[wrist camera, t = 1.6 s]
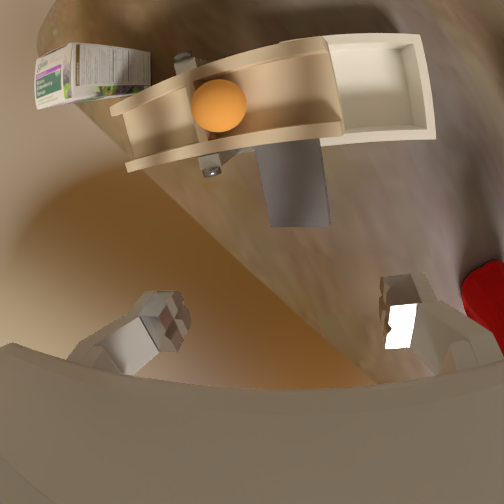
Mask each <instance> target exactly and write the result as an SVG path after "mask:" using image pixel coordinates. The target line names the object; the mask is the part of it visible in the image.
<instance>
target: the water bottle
mask: <svg viewBox="0 0 504 504" xmlns="http://www.w3.org/2000/svg"><path fill="white" fill-rule="evenodd" d="M461 295H462V300H463V305H464V309H465V312H466V314H467V316H468V317H469V318H470V319H472V320H473V321H475V322H477V323H478V324H480V325H481V326H483V327H484V328H486V329H487V330H489V331H490V332H492V333H493V335H494V337H495V339H496V341H497V343H498V346H499V348H500V350H501V352H502V354H503V357H504V263H503V262H501V261H498V260H494V261H490V262H487V263H486V264H485V265H484V266H483V267H481V268H479V269H476V270H474V271H473V272H472V273H470V274H469V275H468V276H467V277H466V279H465V281H464V282H463V284H462V291H461Z"/></svg>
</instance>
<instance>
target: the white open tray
mask: <svg viewBox="0 0 504 504" xmlns="http://www.w3.org/2000/svg"><path fill="white" fill-rule="evenodd" d="M322 37H323V38H324V39H325V40H326V41H327V42H328V46H329V50H330V55H331V59H332V63H333V68H334V72H335V77H336V82H337V87H338V92H339V97H340V102H341V108H342V114H343V120H344V126H345V133H344V134H343V136H339V137H326V138H319V139H320V145H321V146H329V145H339V144H349V143H361V142H375V141H392V140H419V139H436V129H435V118H434V109H433V101H432V94H431V87H430V81H429V75H428V69H427V64H426V59H425V55H424V50H423V46H422V42H421V38H420V35H416V34H398V33H358V34H339V35H327V36H322ZM309 38H310V37H309ZM301 39H304V38H301ZM294 40H299V39H294ZM288 41H293V40H288ZM288 41H281V42H280V43H284V42H288Z"/></svg>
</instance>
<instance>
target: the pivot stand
mask: <svg viewBox="0 0 504 504" xmlns="http://www.w3.org/2000/svg"><path fill="white" fill-rule="evenodd" d="M174 61H175V64H174V67H175V71H176V75H179V74H181V73H184V72H186V71H189V70H192V69H194V68H197V67H200V66H202V65H205V64H208V63H211V61H207V60H204V59H201V58H197V57H193V56H192V52H191V51H187V52H182V53H179V54H176V55H175V56H174ZM251 151H255V149H254V146H250V147H244V148H238V149H232V150H226V151H220V152H215V153H210V154H204V155H202V156H200V157H198V161H199V165H200V169H201V170H202V171H203V175H204V177H211V176H215V175H218V174H220V173H221V169H220V166H222V165H223V164H225V163H226V162H227V161H228V160H230V159H231V158H232V157H233V156H235V155H236V154H240V153H245V152H251Z"/></svg>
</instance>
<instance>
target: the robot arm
mask: <svg viewBox="0 0 504 504" xmlns="http://www.w3.org/2000/svg"><path fill="white" fill-rule="evenodd" d="M380 290H381V294H382V295H381V297H380V298H379V317H380V323H381V325H382V326H383V338H384V343H385V349H391V348H401V347H410V349H411V350H412V351H413V352H414V353H415V354H416V355H417V356H418V357H419V358H420V359H421V360H422V361H423V362H424V363H425V364H426V365H427V366H428V367H429V368H430V369H431V370H432V372H433V373H434V374H435V375H436V376H433V377H427V378H422V379H416V380H409V381H403V382H395V383H388V384H379V385H371V386H359V387H346V388H330V389H299V390H298V389H295V390H293V389H292V390H291V389H289V390H285V389H284V390H283V389H281V390H280V389H246V388H228V387H215V386H204V385H195V384H186V383H178V382H171V381H164V380H157V379H151V378H144V377H139V376H133V375H134V374H135V373H136V372H137V371H138V370H140V369H141V368H142V367H143V366H144V365H145V364H146V363H147V362H149V361H150V360H151V359H152V358H153V357H154V356H156V355H157V354H158V353H159V352H178V351H179V349H180V347H181V345H182V343H183V341H184V340H183V337H182V336H183V335H184V334H186V333H187V332H188V330H189V328H190V324H191V316H190V312H189V310H188V308H186V307H185V306H184V305H183V302H184V298H183V296H182V294H181V292H179V291H147V292H144V293H143V294H142V296H141V297H140V298H139V299H138V301H137V302H136V303H135V305H134V306H133V307H132V309H131V310H130V311H129V312H128V314H127V315H126V316H122V317H121V318H119V319H117V320H115V321H114V322H112V323H110V324H109V325H107V326H105V327H104V328H102V329H100V330H99V331H97V332H95V333H94V334H92V335H90V336H89V337H87V338H85V339H84V340H82V341H80V342H79V343H78V345H77V346H76V347H75V349H74V350H73V351H72V353H71V354H70V355H69V356H68V358H67V359H66V360H65V359H61V358H58V357H54V356H51V355H48V354H44V353H42V352H39V351H35V350H32V349H30V348H27V347H23V346H21V345H19V344H16V343H9V344H7V345H5V346H3V347H0V504H504V357H503V354H502V352H501V350H500V348H499V346H498V343H497V341H496V339H495V337H494V335H493V333H492V332H490V331H489V330H487V329H486V328H484V327H483V326H481V325H480V324H478V323H477V322H475V321H473V320H472V319H470V318H469V317H467V316H466V315H464V314H462V313H461V312H459V311H458V310H456V309H454V308H453V307H451V306H450V305H448V304H446V303H445V302H443V301H437V298H436V296H435V294H434V292H433V290H432V288H431V286H430V284H429V282H428V280H427V278H426V276H425V274H424V273H423V272H417V273H410V274H405V275H397V276H388V277H381V279H380Z"/></svg>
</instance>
